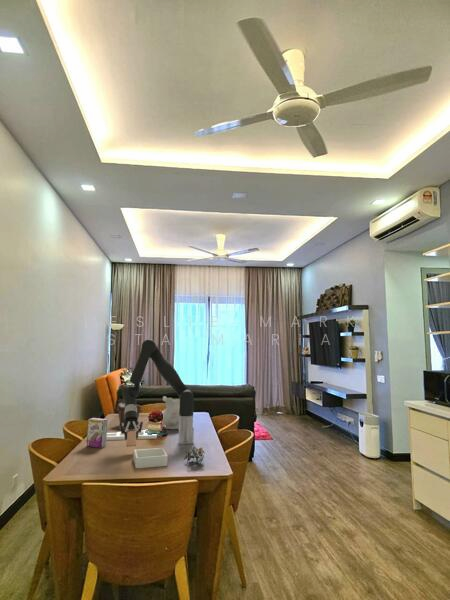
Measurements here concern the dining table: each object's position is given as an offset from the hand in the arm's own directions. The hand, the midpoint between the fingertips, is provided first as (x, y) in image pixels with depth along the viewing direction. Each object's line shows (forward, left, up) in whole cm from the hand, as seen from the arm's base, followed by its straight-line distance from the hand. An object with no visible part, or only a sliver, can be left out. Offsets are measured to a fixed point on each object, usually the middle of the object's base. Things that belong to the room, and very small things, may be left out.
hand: (131, 438), depth 212 cm
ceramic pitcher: (-37, -65, -9) cm, 75 cm away
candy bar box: (+19, -23, -9) cm, 31 cm away
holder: (+2, -45, -9) cm, 46 cm away
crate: (-9, +18, -9) cm, 22 cm away
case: (-4, -81, -9) cm, 81 cm away
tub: (0, -2, -4) cm, 5 cm away
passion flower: (-31, +27, -9) cm, 42 cm away
